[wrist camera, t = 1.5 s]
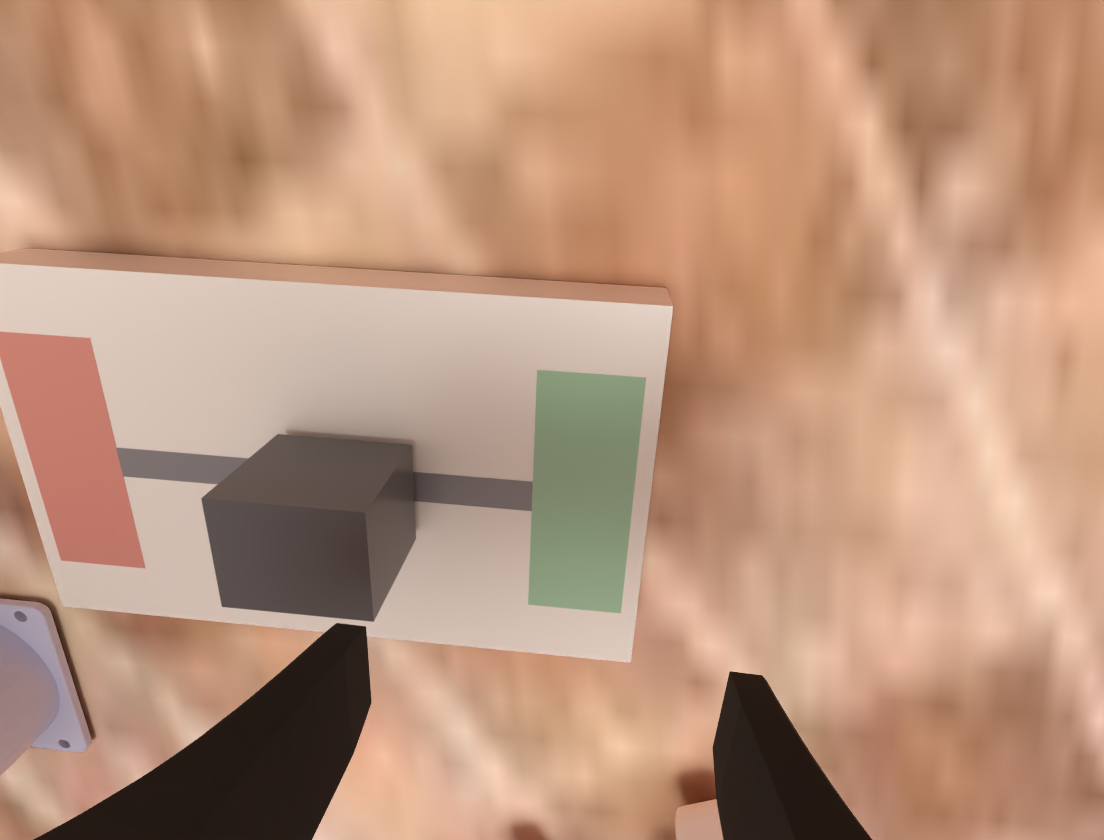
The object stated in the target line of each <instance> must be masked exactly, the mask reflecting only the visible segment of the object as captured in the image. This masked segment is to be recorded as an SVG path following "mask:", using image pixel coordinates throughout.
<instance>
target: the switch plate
mask: <svg viewBox="0 0 1104 840" xmlns="http://www.w3.org/2000/svg"><path fill="white" fill-rule="evenodd" d="M672 313H673V304H672V302H671V299H670V297H669V294H668V292H667V289H666V288H663V287H646V286H630V285H614V284H598V283H582V282H566V281H550V280H534V279H517V278H501V277H485V276H469V275H453V274H437V273H421V272H405V271H388V270H372V269H356V268H340V267H324V266H308V265H292V264H276V263H259V262H243V261H227V260H211V259H195V258H179V257H163V256H147V255H130V254H114V253H98V252H82V251H66V250H50V249H34V248H28V249H22V250H16V251H10V252H4V253H0V407H1V410H2V414H3V417H4V420H5V423H6V426H7V430H8V433H9V436H10V439H11V443H12V446H13V449H14V452H15V456H16V459H17V462H18V465H19V468H20V472H21V475H22V478H23V481H24V485H25V488H26V491H27V494H28V498H29V501H30V504H31V507H32V510H33V514H34V517H35V520H36V523H37V527H38V530H39V533H40V536H41V539H42V543H43V546H44V549H45V552H46V556H47V559H48V562H49V565H50V569H51V572H52V575H53V578H54V581H55V585H56V588H57V591H58V594H59V598H60V601H61V604H62V606H64V607H74V608H84V609H94V610H104V611H114V612H125V613H135V614H145V615H155V616H165V617H175V618H185V619H195V620H205V621H215V622H225V623H235V624H246V625H256V626H266V627H276V628H286V629H296V630H306V631H316V632H326V631H327V630H328V629H330V628H331V627H332V626H333V625H335V624H336V623H342V624H350V625H358V626H366V633H367V637H377V638H387V639H397V640H407V641H417V642H427V643H437V644H447V645H457V646H467V647H478V648H488V649H498V650H508V651H518V652H528V653H538V654H548V655H558V656H568V657H578V658H588V659H599V660H609V661H619V662H629V663H631V656H632V647H633V639H634V630H635V622H636V614H637V605H638V597H639V589H640V580H641V572H642V564H643V555H644V547H645V538H646V530H647V522H648V513H649V505H650V497H651V488H652V480H653V472H654V463H655V455H656V446H657V438H658V430H659V421H660V413H661V405H662V396H663V388H664V379H665V371H666V363H667V354H668V346H669V338H670V329H671V321H672ZM277 434H284V435H297V436H309V437H322V438H335V439H347V440H360V441H372V442H385V443H398V444H410V445H412V456H413V479H414V502H415V525H416V540H415V542H414V544H413V546H412V548H411V550H410V552H409V554H408V556H407V558H406V560H405V562H404V564H403V565H402V567H401V569H400V571H399V573H398V575H397V577H396V579H395V581H394V583H393V585H392V587H391V589H390V591H389V593H388V595H387V597H386V599H385V601H384V603H383V605H382V607H381V609H380V611H379V612H378V614H377V616H376V618H375V620H374V622H371V621H361V620H351V619H340V618H330V617H320V616H310V615H299V614H289V613H279V612H269V611H258V610H248V609H238V608H228V607H222V605H221V600H220V595H219V590H218V584H217V579H216V574H215V569H214V563H213V558H212V553H211V548H210V542H209V537H208V532H207V527H206V521H205V516H204V511H203V506H202V500H201V498H202V497H203V496H204V495H206V494H207V493H208V492H209V491H210V490H212V489H213V488H214V487H215V486H216V485H218V484H219V483H220V482H221V481H222V480H224V479H225V478H226V477H227V476H228V475H229V474H231V473H232V472H233V471H234V470H235V469H237V468H238V467H239V466H240V465H241V464H243V463H244V462H245V461H246V460H247V459H249V458H250V457H251V456H252V455H253V454H254V453H256V452H257V451H258V450H259V449H260V448H262V447H263V446H264V445H265V444H266V443H268V442H269V441H270V440H271V439H272V438H274V437H275V436H276V435H277Z"/></svg>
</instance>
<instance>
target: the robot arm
mask: <svg viewBox="0 0 1104 840" xmlns="http://www.w3.org/2000/svg"><path fill="white" fill-rule="evenodd" d="M370 705H371V691H370V677H369V662H368V648H367V633H366V626H358V625H350V624H342V623H336V624H335V625H333V626H332V627H331V628H330V629H328V630H327V631H326V632H325V633H324V634H323V635H322V636H321V637H319V638H318V639H317V640H316V641H315V642H314V643H313V644H312V645H310V646H309V647H308V648H307V649H306V650H305V651H304V652H303V653H302V654H300V655H299V656H298V657H297V658H296V659H295V660H294V661H293V662H291V663H290V664H289V665H288V666H287V667H286V668H285V669H283V670H282V671H281V672H280V673H279V674H278V675H276V676H275V677H274V678H273V679H272V680H271V681H269V682H268V683H267V684H266V685H265V686H263V687H262V688H261V689H260V690H259V691H258V692H256V693H255V694H254V695H253V696H252V697H250V698H249V699H248V700H247V701H246V702H244V703H243V704H242V705H241V706H239V707H238V708H237V709H236V710H234V711H233V712H232V713H230V714H229V715H228V716H227V717H225V718H224V719H223V720H221V721H220V722H219V723H218V724H216V725H215V726H214V727H212V728H211V729H210V730H209V731H207V732H206V733H205V734H203V735H202V736H201V737H199V738H198V739H197V740H195V741H194V742H192V743H191V744H190V745H188V746H187V747H186V748H184V749H183V750H181V751H180V752H178V753H177V754H176V755H174V756H173V757H171V758H170V759H168V760H167V761H165V762H164V763H162V764H161V765H160V766H158V767H157V768H155V769H154V770H152V771H151V772H149V773H148V774H146V775H145V776H143V777H141V778H140V779H138V780H137V781H135V782H133V783H132V784H130V785H128V786H127V787H125V788H123V789H122V790H120V791H118V792H117V793H115V794H113V795H112V796H110V797H108V798H107V799H105V800H103V801H102V802H100V803H98V804H97V805H95V806H93V807H92V808H90V809H88V810H87V811H85V812H83V813H82V814H80V815H78V816H76V817H75V818H73V819H71V820H69V821H67V822H66V823H64V824H62V825H60V826H58V827H56V828H54V829H53V830H51V831H49V832H47V833H45V834H43V835H42V836H40V837H38V838H36V839H34V840H312V838H313V836H314V834H315V832H316V830H317V828H318V826H319V824H320V822H321V820H322V818H323V816H324V814H325V812H326V810H327V808H328V805H329V803H330V801H331V799H332V797H333V795H334V793H335V791H336V789H337V787H338V785H339V783H340V781H341V779H342V777H343V774H344V772H345V770H346V768H347V766H348V764H349V762H350V760H351V758H352V755H353V753H354V750H355V748H356V745H357V742H358V739H359V737H360V734H361V731H362V728H363V725H364V723H365V720H366V717H367V714H368V711H369V708H370ZM91 743H92V739H91V736H90V733H89V729H88V726H87V723H86V720H85V717H84V714H83V711H82V707H81V704H80V701H79V698H78V695H77V692H76V689H75V686H74V682H73V679H72V676H71V673H70V670H69V667H68V664H67V660H66V657H65V654H64V651H63V648H62V645H61V642H60V639H59V635H58V632H57V629H56V626H55V623H54V620H53V617H52V614H51V611H50V609H49V608H48V607H47V606H46V605H44V604H42V603H39V602H31V601H21V600H11V599H1V598H0V776H1V775H2V774H3V773H4V772H5V771H6V770H7V769H8V768H9V767H10V766H11V765H12V764H13V763H14V762H15V761H16V760H17V759H18V758H19V757H20V756H21V755H22V754H23V753H24V752H25V751H26V750H27V749H28V748H29V747H34V748H43V749H52V750H60V751H69V752H84V751H86V749H87V748H88V747H89V746H90V745H91ZM713 758H714V773H715V786H716V797H717V807H718V812H719V818H720V824H721V829H722V835H723V840H872V839H871V837H870V836H869V835H868V834H867V832H866V831H865V830H864V828H863V827H862V826H861V824H860V823H859V822H858V820H857V819H856V817H855V816H854V815H853V813H852V812H851V811H850V809H849V808H848V807H847V805H846V804H845V803H844V801H843V800H842V798H841V797H840V796H839V794H838V793H837V791H836V790H835V789H834V787H833V786H832V784H831V783H830V781H829V780H828V778H827V777H826V775H825V774H824V772H823V771H822V769H821V768H820V766H819V765H818V763H817V762H816V760H815V759H814V758H813V756H812V755H811V753H810V751H809V750H808V748H807V747H806V745H805V744H804V742H803V741H802V739H801V737H800V736H799V734H798V733H797V731H796V729H795V728H794V726H793V725H792V723H791V721H790V720H789V718H788V716H787V715H786V713H785V711H784V710H783V708H782V706H781V705H780V703H779V701H778V700H777V698H776V696H775V695H774V693H773V691H772V689H771V688H770V686H769V684H768V682H767V681H766V680H765V678H764V677H763V676H762V675H754V674H746V673H738V672H730V673H729V677H728V682H727V686H726V691H725V695H724V700H723V704H722V709H721V713H720V718H719V722H718V727H717V731H716V736H715V740H714V745H713Z"/></svg>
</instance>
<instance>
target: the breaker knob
mask: <svg viewBox="0 0 1104 840" xmlns="http://www.w3.org/2000/svg"><path fill="white" fill-rule="evenodd" d="M201 500H202V506H203V511H204V516H205V521H206V527H207V532H208V537H209V542H210V548H211V553H212V558H213V563H214V569H215V574H216V579H217V584H218V590H219V595H220V600H221V605H222V607H228V608H238V609H248V610H258V611H269V612H279V613H289V614H299V615H310V616H320V617H330V618H340V619H351V620H361V621H371V622H374V620H375V618H376V616H377V614H378V612H379V611H380V609H381V607H382V605H383V603H384V601H385V599H386V597H387V595H388V593H389V591H390V589H391V587H392V585H393V583H394V581H395V579H396V577H397V575H398V573H399V571H400V569H401V567H402V565H403V564H404V562H405V560H406V558H407V556H408V554H409V552H410V550H411V548H412V546H413V544H414V542H415V540H416V525H415V502H414V479H413V456H412V445H410V444H398V443H385V442H372V441H360V440H347V439H335V438H322V437H309V436H297V435H284V434H277V435H276V436H275V437H274V438H272V439H271V440H270V441H269V442H268V443H266V444H265V445H264V446H263V447H262V448H260V449H259V450H258V451H257V452H256V453H254V454H253V455H252V456H251V457H250V458H249V459H247V460H246V461H245V462H244V463H243V464H241V465H240V466H239V467H238V468H237V469H235V470H234V471H233V472H232V473H231V474H229V475H228V476H227V477H226V478H225V479H224V480H222V481H221V482H220V483H219V484H218V485H216V486H215V487H214V488H213V489H212V490H210V491H209V492H208V493H207V494H206V495H204V496H203V497H202V498H201Z"/></svg>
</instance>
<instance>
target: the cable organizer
mask: <svg viewBox="0 0 1104 840" xmlns="http://www.w3.org/2000/svg"><path fill="white" fill-rule="evenodd" d="M675 832H676V840H723V835H722V829H721V824H720V818H719V812H718V807H717V799H714V800H709V801H704V802H699V803H695V804H690V805H685V806H680V807H678V809H677V811H676V815H675Z"/></svg>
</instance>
